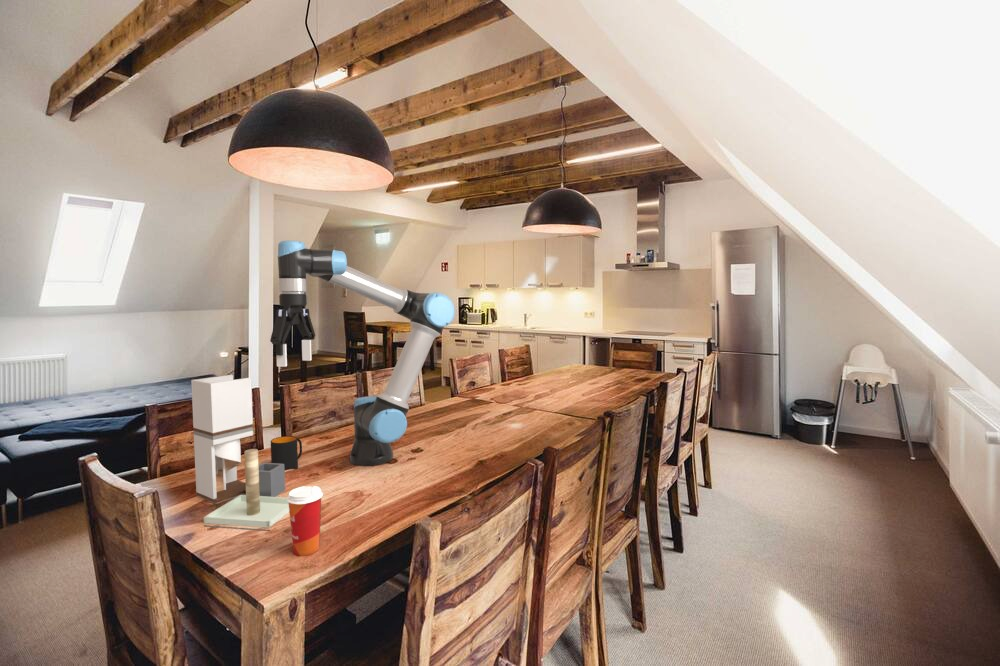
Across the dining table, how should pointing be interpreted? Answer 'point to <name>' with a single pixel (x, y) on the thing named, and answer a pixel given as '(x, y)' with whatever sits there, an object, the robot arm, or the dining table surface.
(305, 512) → the paper cup
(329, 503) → the dining table surface
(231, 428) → the white coffee maker
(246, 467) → the dowel
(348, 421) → the dining table surface
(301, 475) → the dining table surface
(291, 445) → the mug
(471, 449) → the dining table surface
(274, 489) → the pen cup
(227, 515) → the tray
